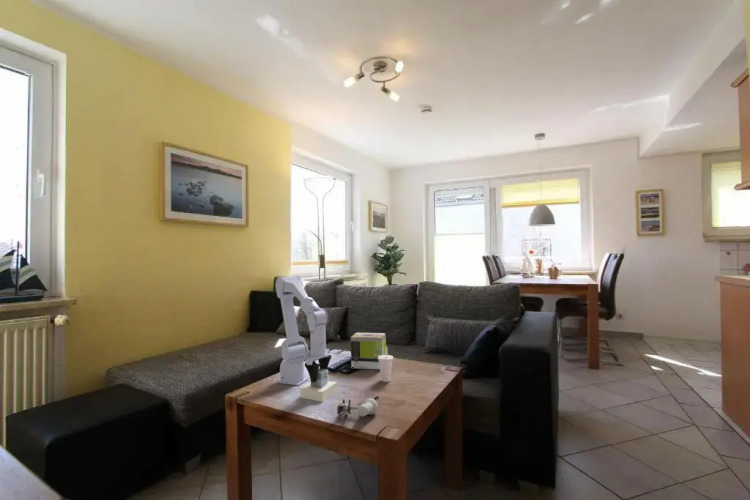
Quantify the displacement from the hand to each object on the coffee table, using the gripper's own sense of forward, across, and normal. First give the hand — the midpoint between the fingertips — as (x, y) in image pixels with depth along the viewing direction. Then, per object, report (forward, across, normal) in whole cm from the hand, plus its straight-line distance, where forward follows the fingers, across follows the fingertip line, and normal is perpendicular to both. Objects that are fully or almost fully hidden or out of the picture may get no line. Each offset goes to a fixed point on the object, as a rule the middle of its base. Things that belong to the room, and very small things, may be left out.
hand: (318, 378), depth 133 cm
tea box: (+6, +36, -7) cm, 37 cm away
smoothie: (+6, +21, -20) cm, 30 cm away
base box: (+7, 0, 0) cm, 7 cm away
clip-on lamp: (+7, -8, -21) cm, 23 cm away
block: (+3, 0, 0) cm, 3 cm away
